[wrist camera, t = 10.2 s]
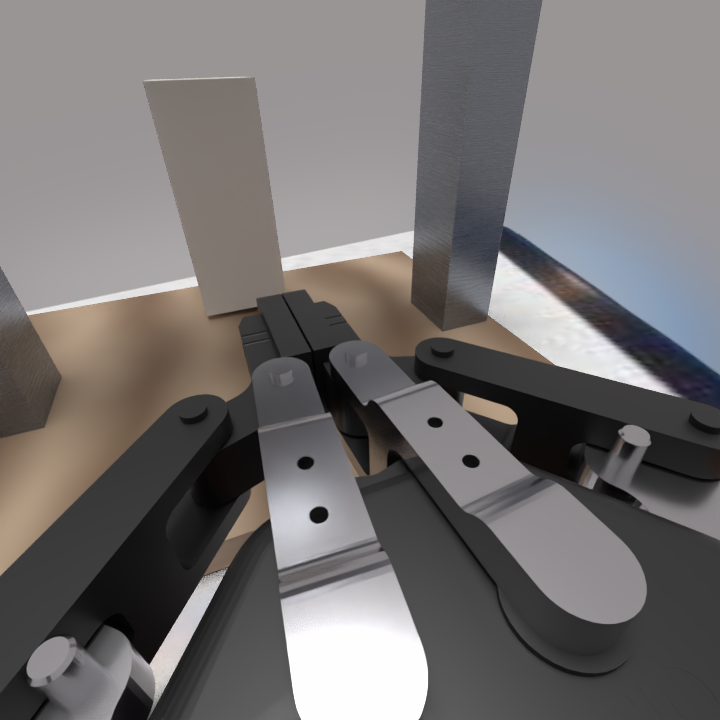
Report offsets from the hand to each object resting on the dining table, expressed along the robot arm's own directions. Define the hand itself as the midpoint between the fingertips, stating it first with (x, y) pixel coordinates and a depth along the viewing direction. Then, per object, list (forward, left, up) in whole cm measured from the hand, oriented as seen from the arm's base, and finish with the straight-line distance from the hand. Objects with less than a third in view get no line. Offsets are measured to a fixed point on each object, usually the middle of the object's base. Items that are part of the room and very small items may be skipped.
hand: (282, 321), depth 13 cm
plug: (-3, +15, -6) cm, 16 cm away
